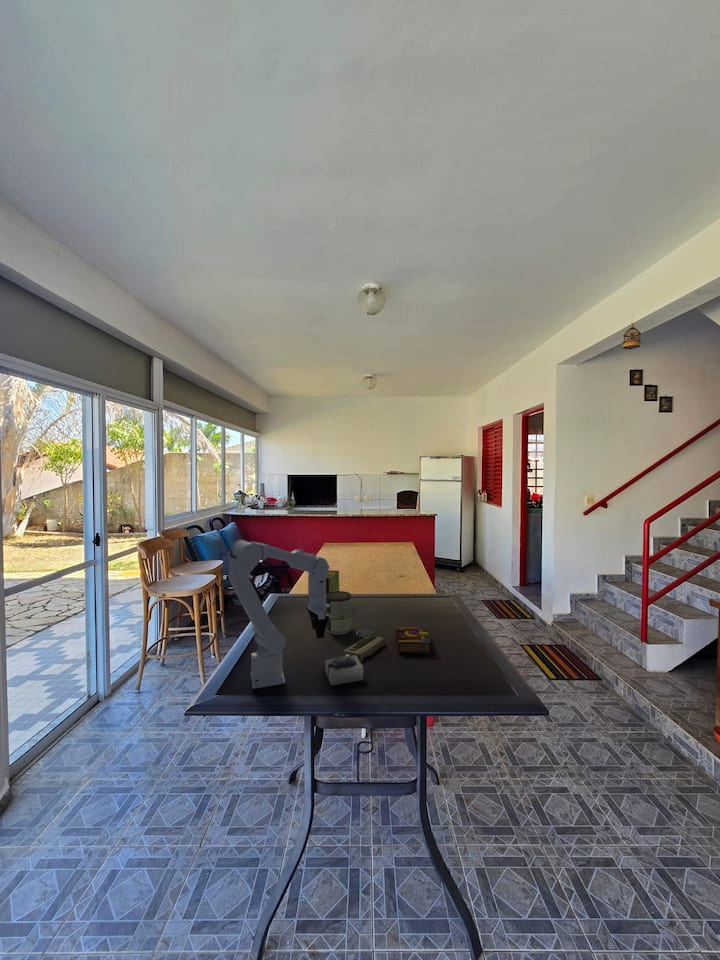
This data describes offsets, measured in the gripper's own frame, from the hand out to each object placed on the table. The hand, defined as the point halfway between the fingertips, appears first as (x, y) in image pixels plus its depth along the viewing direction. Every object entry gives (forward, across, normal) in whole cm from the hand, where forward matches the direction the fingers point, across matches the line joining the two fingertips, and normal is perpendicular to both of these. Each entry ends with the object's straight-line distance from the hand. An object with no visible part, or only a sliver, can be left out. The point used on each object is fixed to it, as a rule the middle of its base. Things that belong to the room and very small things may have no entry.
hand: (318, 633), depth 130 cm
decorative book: (+10, +3, -35) cm, 37 cm away
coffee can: (+10, +25, -13) cm, 30 cm away
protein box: (+10, +54, -13) cm, 56 cm away
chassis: (+10, -11, -6) cm, 16 cm away
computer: (+11, +4, -17) cm, 21 cm away
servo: (+9, -11, -6) cm, 16 cm away
